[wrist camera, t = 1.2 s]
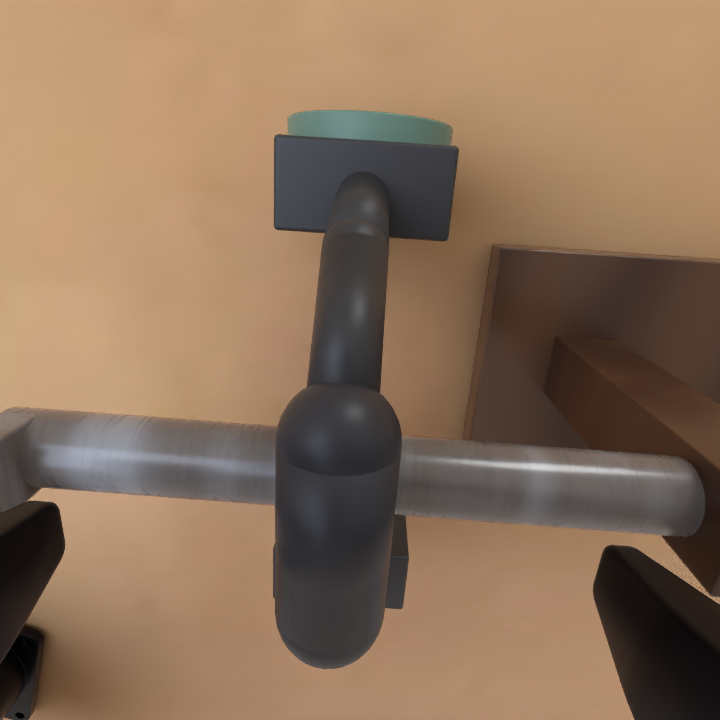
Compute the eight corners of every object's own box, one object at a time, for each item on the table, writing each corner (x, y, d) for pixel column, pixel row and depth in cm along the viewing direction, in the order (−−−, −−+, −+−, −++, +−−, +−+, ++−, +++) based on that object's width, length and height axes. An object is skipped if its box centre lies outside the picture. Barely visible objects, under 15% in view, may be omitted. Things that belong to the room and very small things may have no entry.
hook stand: (747, 260, 17) (1287, 362, 7) (681, 458, 19) (1000, 737, 9) (171, 221, 17) (-121, 262, 7) (185, 421, 20) (-12, 654, 10)
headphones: (440, 139, 14) (564, 32, 5) (398, 523, 19) (417, 858, 10) (303, 130, 14) (150, 5, 5) (295, 515, 19) (210, 840, 10)
